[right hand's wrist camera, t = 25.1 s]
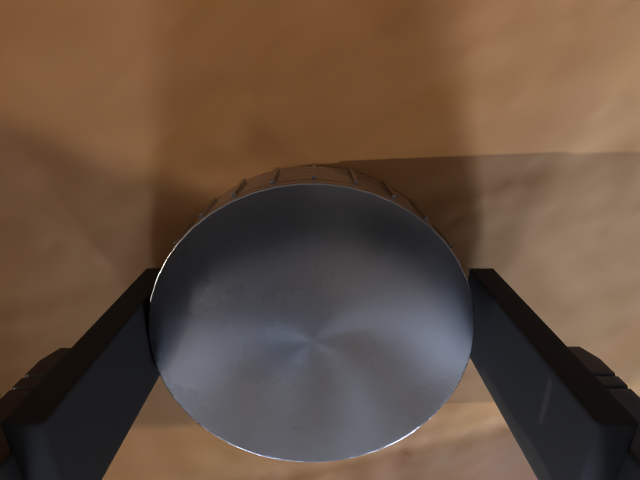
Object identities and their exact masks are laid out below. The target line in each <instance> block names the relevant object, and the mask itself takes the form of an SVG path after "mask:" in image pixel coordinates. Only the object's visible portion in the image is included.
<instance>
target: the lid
mask: <svg viewBox="0 0 640 480" xmlns="http://www.w3.org/2000/svg"><path fill="white" fill-rule="evenodd" d="M198 217H199V218H198V220H197V221H196V222H195V223H194V222H192V223H191V224H190V226H189V227H188V228H187V229H186V230H185V231H184V232H183V233H182V234H181V236H180V237H179V238H178V239H177V240H176V241H175V242H174V244H173V245H175V247H174V248H173V250H172V251H171V252H170V254H169V255H168V257H167V258H166V260H165V262H164V264H163V266H162V268H161V270H160V272H159V273H158V276H157V279H156V282H155V285H154V288H153V291H152V295H151V300H150V307H149V314H148V320H149V339H150V345H151V351H152V354H153V357H154V360H155V363H156V367H157V369H158V371H159V373H160V375H161V378H162V380H163V382H164V384H165V385H166V387H167V388H168V390H169V391H170V393H171V394H172V396H173V397H174V399H175V400H176V401H177V403H178V404H179V405H180V406H181V407H182V408H183V409H184V411H185V412H186V413H187V414H188V415H189V416H191V417H192V418H193V419H194V420H195V421H196V422H197V423H198V424H200V425H201V426H202V427H203V428H205V429H206V430H208V431H209V432H211V433H212V434H213V435H215V436H217V437H218V438H220V439H222V440H224V441H226V442H228V443H229V444H231V445H233V446H236V447H238V448H241V449H243V450H246V451H248V452H251V453H254V454H258V455H261V456H264V457H268V458H274V459H279V460H284V461H294V462H328V461H338V460H344V459H349V458H354V457H359V456H362V455H365V454H368V453H371V452H375V451H377V450H380V449H382V448H384V447H387V446H389V445H391V444H393V443H395V442H397V441H399V440H401V439H402V438H404V437H406V436H408V435H409V434H411V433H412V432H414V431H415V430H416V429H418V428H419V427H421V426H422V425H423V424H424V423H426V422H427V421H428V420H429V419H430V418H431V417H432V416H433V415H434V414H436V413H437V412H438V410H439V409H440V408H441V407H442V406H443V405H444V403H445V402H446V401H447V400H448V399H449V397H450V396H451V394H452V393H453V391H454V390H455V388H456V387H457V385H458V384H459V382H460V380H461V377H462V375H463V373H464V371H465V369H466V367H467V364H468V361H469V357H470V354H471V351H472V345H473V339H474V333H475V312H474V305H473V298H472V293H471V290H470V287H469V284H468V280H467V277H466V275H465V273H464V271H463V269H462V267H461V265H460V263H459V261H458V259H457V257H456V256H455V255H454V253H453V252H452V250H451V249H450V248H451V247H452V246H451V244H450V243H449V242H448V241H447V240H446V238H445V237H444V236H443V235H442V234H441V233H440V232H439V230H438V229H437V228H436V227H435V226H434V225H431V224H430V223H429V222H428V217H427V216H426V215H425V214H424V213H423V212H422V211H421V209H420V208H419V207H418V206H417V205H416V204H415V203H414V201H413V200H410V201H408V200H407V199H406V198H405V197H403V196H402V195H401V194H400V193H398V192H397V191H395V190H394V189H392V188H390V187H389V185H388V184H387V183H386V182H385V181H384V180H383V181H382V182H380V181H378V180H375V179H373V178H371V177H368V176H366V175H364V174H361V173H357V172H354V171H353V169H352V168H349V170H346V169H342V168H334V167H327V166H316V163H313V164H312V166H298V167H290V168H282V169H280V168H279V167H276V169H275V171H271V172H267V173H263V174H261V175H259V176H256V177H254V178H251V179H249V180H246V179H243V180H242V181H241V182H240V183H239V185H237V186H236V187H234V188H232V189H231V190H229V191H228V192H226V193H225V194H224V195H222V196H221V197H220V198H219V199H217V198H216V197H215V198H214V199H213V200H212V201H211V202H210V203H209V205H208V206H207V207H206V208H205V209H204V210H203V211H202V212H201V213H200V215H199V216H198Z"/></svg>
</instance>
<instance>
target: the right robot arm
mask: <svg viewBox="0 0 640 480" xmlns="http://www.w3.org/2000/svg"><path fill="white" fill-rule="evenodd" d="M160 270H161V269H146V270H145V271H144V272H143V273H142V274H141V275H140V276H139V277H138V278H137V280H136V281H135V282H134V283H133V284H132V285H131V286H130V287H129V288H128V289H127V290H126V291H125V292H124V293H123V294H122V295H121V296H120V297H119V298H118V300H117V301H116V302H115V303H114V304H113V305H112V306H111V307H110V308H109V309H108V310H107V311H106V312H105V313H104V314H103V315H102V316H101V317H100V318H99V320H98V321H97V322H96V323H95V324H94V325H93V326H92V327H91V328H90V329H89V330H88V331H87V332H86V333H85V334H84V335H83V336H82V337H81V338H80V340H79V341H78V342H77V343H76V344H75V345H74V346H73V347H72V348H60V349H58V350H57V351H55V352H53V353H52V354H50V355H48V356H47V357H45V358H43V359H42V360H40V361H39V362H38V363H37V364H36V365H35V366H34V367H33V368H32V369H31V370H30V371H29V372H28V373H27V374H26V375H25V378H22V379H21V380H20V381H19V382H18V383H17V384H16V385H15V386H13V389H12V390H9V391H8V392H7V393H6V394H5V395H4V396H3V397H2V398H1V399H0V480H102V478H103V476H104V474H105V473H106V471H107V469H108V467H109V465H110V464H111V462H112V460H113V458H114V456H115V455H116V453H117V451H118V449H119V447H120V446H121V444H122V442H123V440H124V438H125V437H126V435H127V433H128V431H129V429H130V428H131V426H132V424H133V422H134V420H135V419H136V417H137V415H138V413H139V411H140V410H141V408H142V406H143V404H144V402H145V401H146V399H147V397H148V395H149V393H150V392H151V390H152V388H153V386H154V384H155V383H156V381H157V379H158V377H159V375H160V373H159V371H158V369H157V367H156V363H155V360H154V357H153V354H152V351H151V345H150V339H149V320H148V314H149V307H150V300H151V295H152V291H153V288H154V285H155V282H156V279H157V276H158V273H159V272H160ZM468 284H469V287H470V290H471V293H472V298H473V305H474V312H475V333H474V339H473V345H472V351H471V354H470V358H471V360H472V362H473V363H474V365H475V367H476V369H477V371H478V372H479V374H480V376H481V378H482V380H483V381H484V383H485V385H486V387H487V389H488V390H489V392H490V394H491V396H492V398H493V399H494V401H495V403H496V405H497V407H498V408H499V410H500V412H501V414H502V416H503V417H504V419H505V421H506V423H507V425H508V426H509V428H510V430H511V432H512V434H513V435H514V437H515V439H516V441H517V443H518V444H519V446H520V448H521V450H522V452H523V453H524V455H525V457H526V459H527V461H528V462H529V464H530V466H531V468H532V470H533V471H534V473H535V475H536V477H537V479H538V480H640V398H639V397H638V396H637V395H636V394H635V393H634V392H633V391H632V390H631V389H628V387H627V385H626V384H625V383H624V382H623V381H622V380H621V379H620V378H619V377H616V376H615V373H614V372H613V371H612V370H611V369H610V368H609V367H608V366H607V365H606V364H605V363H604V362H602V361H601V360H600V359H599V358H597V357H596V356H594V355H592V354H591V353H589V352H587V351H586V350H584V349H582V348H581V347H567V346H566V345H565V344H564V343H563V342H562V341H561V340H560V339H559V338H558V337H557V336H556V335H555V334H554V333H553V331H552V330H551V329H550V328H549V327H548V326H547V325H546V324H545V323H544V322H543V321H542V320H541V319H540V318H539V317H538V316H537V315H536V314H535V313H534V311H533V310H532V309H531V308H530V307H529V306H528V305H527V304H526V303H525V302H524V301H523V300H522V299H521V298H520V297H519V296H518V295H517V294H516V292H515V291H514V290H513V289H512V288H511V287H510V286H509V285H508V284H507V283H506V282H505V281H504V280H503V279H502V278H501V277H500V276H499V275H498V274H497V272H496V271H495V270H494V269H470V271H469V278H468Z"/></svg>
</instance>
